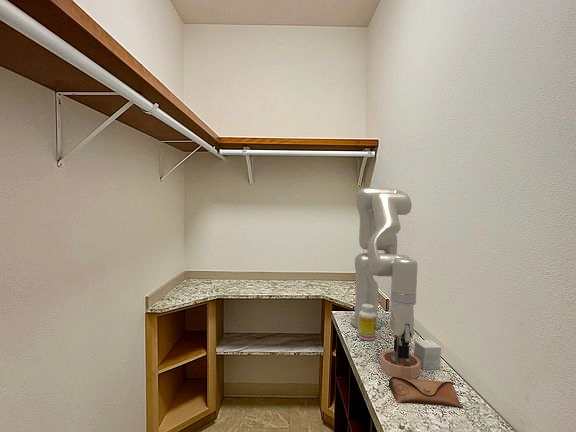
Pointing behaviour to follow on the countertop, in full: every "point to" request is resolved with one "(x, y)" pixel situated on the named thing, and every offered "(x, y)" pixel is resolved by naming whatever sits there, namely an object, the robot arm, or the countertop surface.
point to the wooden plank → (400, 360)
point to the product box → (427, 354)
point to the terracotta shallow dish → (400, 366)
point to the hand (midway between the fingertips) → (400, 354)
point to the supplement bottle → (367, 323)
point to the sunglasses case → (424, 392)
